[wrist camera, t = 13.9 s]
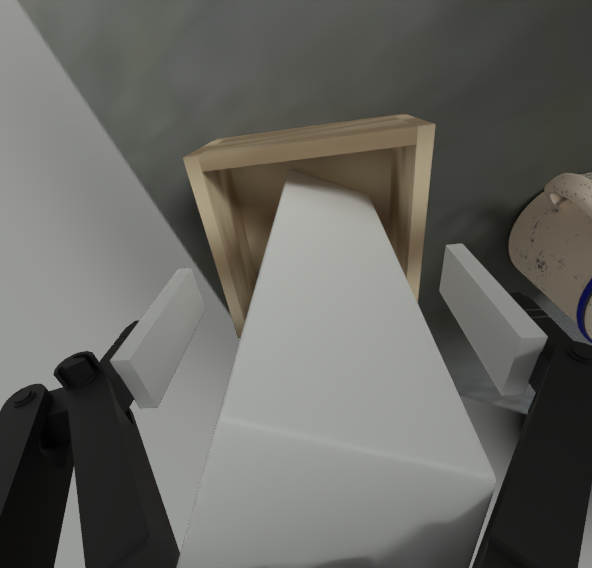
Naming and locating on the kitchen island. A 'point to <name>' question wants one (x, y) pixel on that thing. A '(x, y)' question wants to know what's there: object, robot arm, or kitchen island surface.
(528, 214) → the teacup with lid
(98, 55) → the kitchen island surface
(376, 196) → the holder
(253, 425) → the milk
